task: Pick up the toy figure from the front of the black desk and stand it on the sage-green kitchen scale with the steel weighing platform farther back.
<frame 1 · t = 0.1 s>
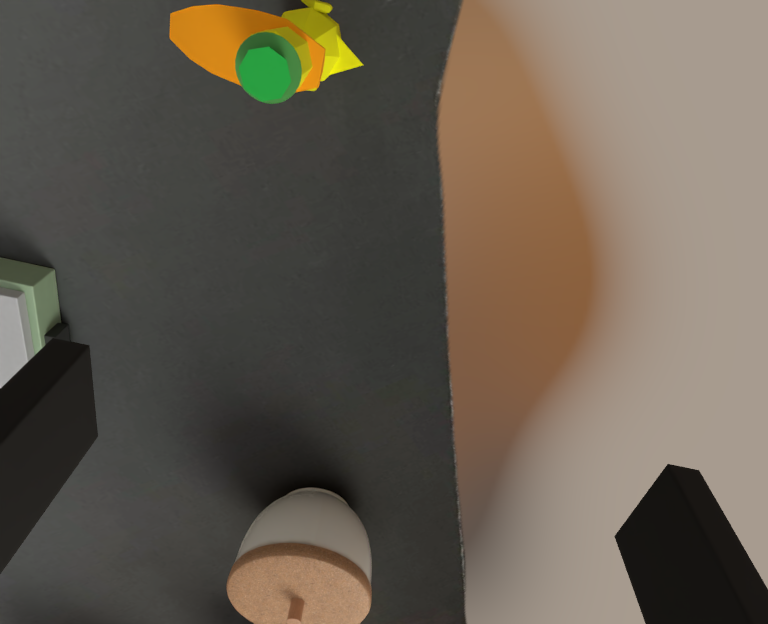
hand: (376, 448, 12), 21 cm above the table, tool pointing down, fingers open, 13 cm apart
trinket box: (316, 509, 46), on the table
toy figure: (305, 33, 27), on the table
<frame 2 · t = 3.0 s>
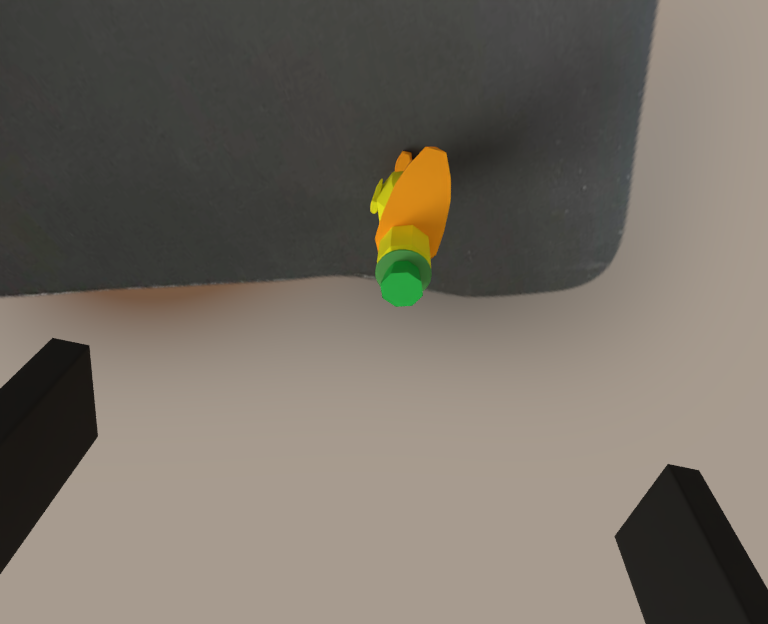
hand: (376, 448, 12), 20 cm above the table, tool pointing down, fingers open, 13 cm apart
toy figure: (413, 167, 29), on the table
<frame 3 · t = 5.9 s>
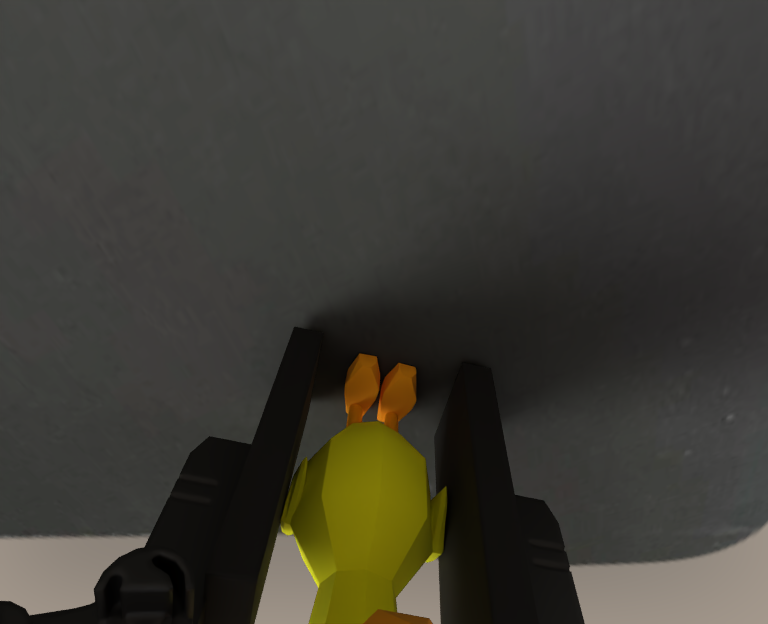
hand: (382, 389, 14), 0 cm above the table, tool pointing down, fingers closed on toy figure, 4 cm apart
toy figure: (382, 377, 14), on the table, touching gripper
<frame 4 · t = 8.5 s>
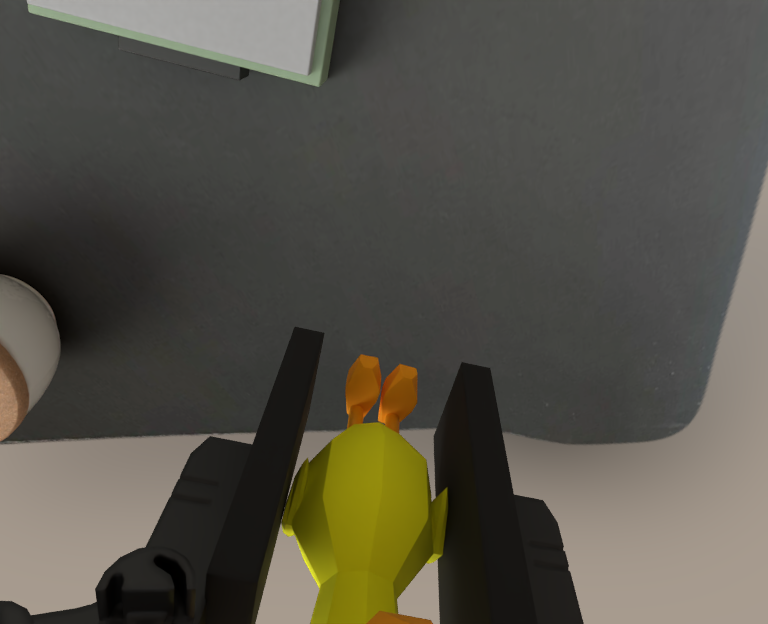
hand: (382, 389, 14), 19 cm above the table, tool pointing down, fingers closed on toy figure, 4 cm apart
trinket box: (14, 310, 37), on the table
toy figure: (383, 378, 14), point 19 cm above the table, touching gripper
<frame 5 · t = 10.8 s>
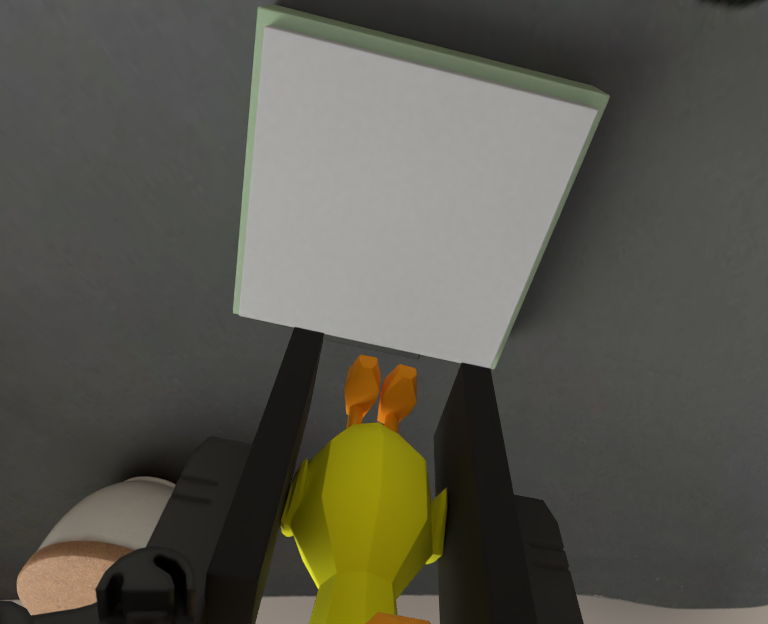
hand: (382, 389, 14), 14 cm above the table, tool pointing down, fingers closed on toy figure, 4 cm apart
trinket box: (158, 502, 39), on the table
toy figure: (382, 379, 14), point 14 cm above the table, touching gripper
kitchen scale: (398, 200, 26), on the table
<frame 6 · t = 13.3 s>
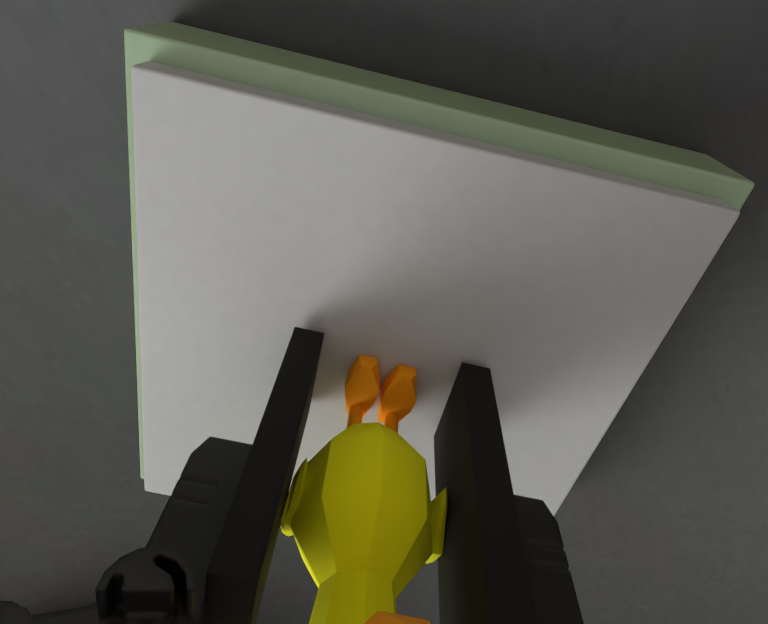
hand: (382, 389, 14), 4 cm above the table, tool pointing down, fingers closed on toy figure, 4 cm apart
toy figure: (382, 378, 14), point 3 cm above the table, touching gripper
kitchen scale: (387, 317, 17), on the table
when the fingers open (5 cm above the table, at t = 15.9 s): toy figure drops 1 cm, resting on kitchen scale.
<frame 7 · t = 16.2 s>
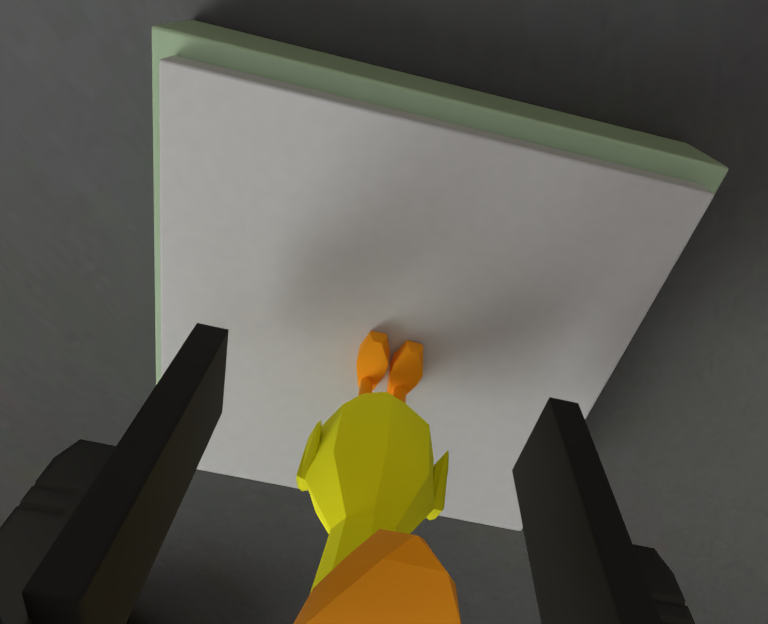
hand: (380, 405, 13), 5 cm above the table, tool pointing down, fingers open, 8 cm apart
toy figure: (391, 354, 16), point 3 cm above the table, touching kitchen scale
kitchen scale: (390, 298, 18), on the table
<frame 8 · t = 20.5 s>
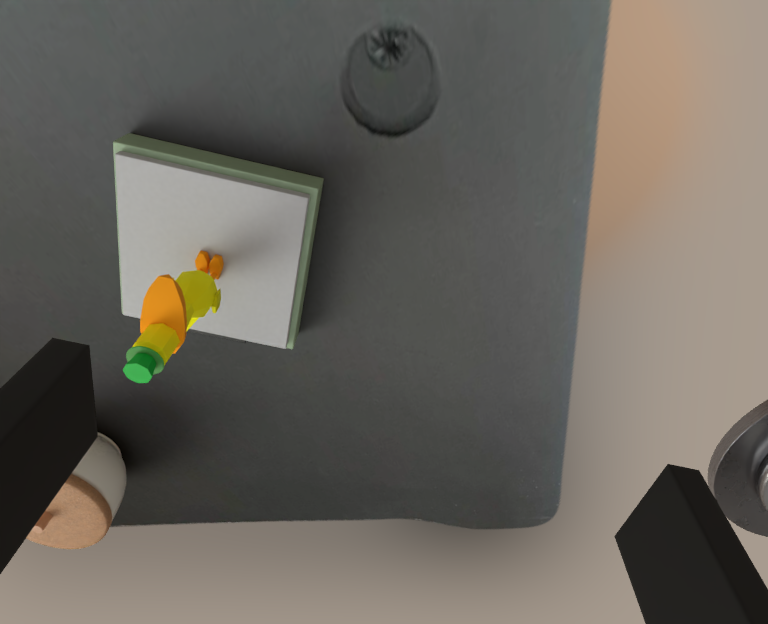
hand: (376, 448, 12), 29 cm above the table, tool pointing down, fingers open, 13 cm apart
trinket box: (93, 448, 55), on the table
toy figure: (212, 261, 39), point 3 cm above the table, touching kitchen scale
kitchen scale: (222, 242, 42), on the table
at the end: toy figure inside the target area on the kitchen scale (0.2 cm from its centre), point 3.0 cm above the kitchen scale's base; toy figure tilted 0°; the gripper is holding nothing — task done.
